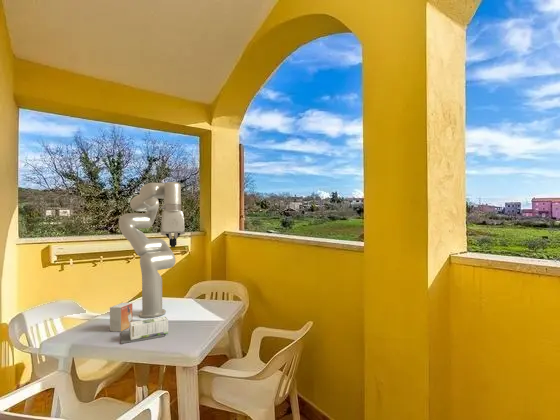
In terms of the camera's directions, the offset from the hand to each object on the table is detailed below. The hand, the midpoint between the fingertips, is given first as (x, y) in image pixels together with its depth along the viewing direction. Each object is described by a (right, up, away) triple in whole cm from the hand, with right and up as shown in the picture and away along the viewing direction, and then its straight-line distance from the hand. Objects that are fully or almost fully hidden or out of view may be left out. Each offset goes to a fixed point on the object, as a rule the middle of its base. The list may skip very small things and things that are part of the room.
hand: (173, 247), depth 151 cm
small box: (-20, -36, -9) cm, 42 cm away
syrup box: (+3, -31, -15) cm, 35 cm away
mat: (-7, -35, -17) cm, 39 cm away
